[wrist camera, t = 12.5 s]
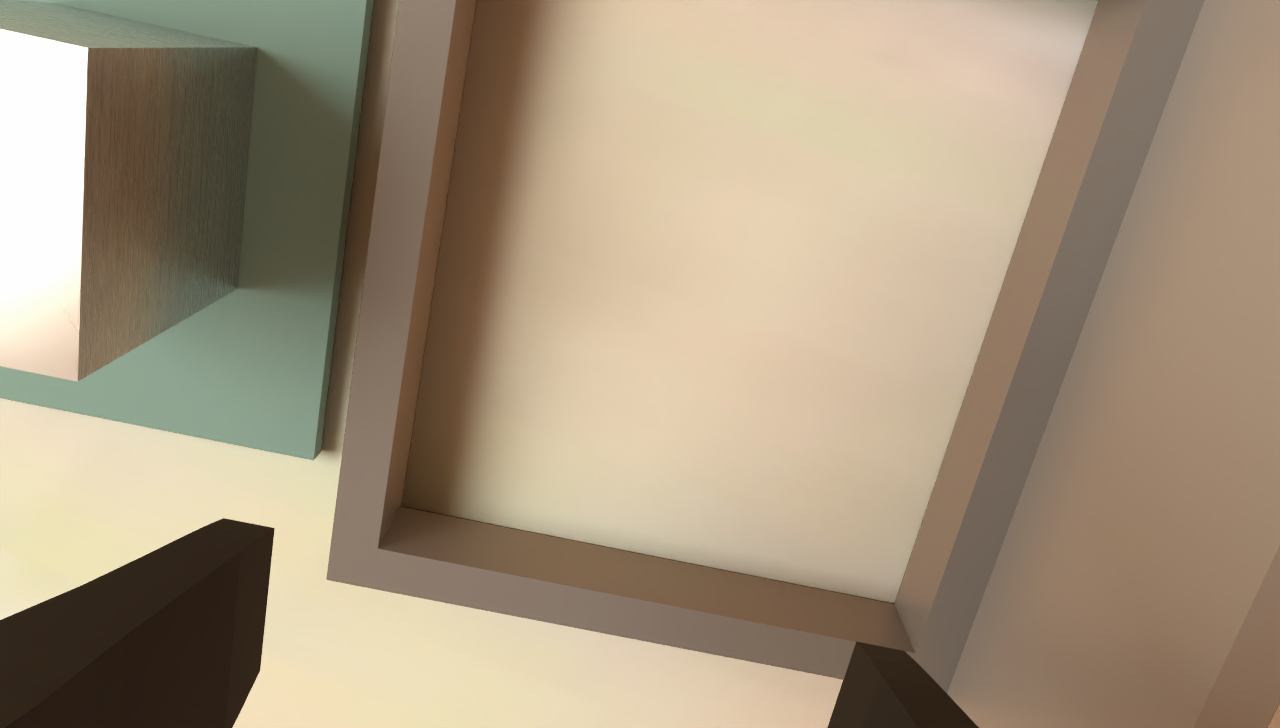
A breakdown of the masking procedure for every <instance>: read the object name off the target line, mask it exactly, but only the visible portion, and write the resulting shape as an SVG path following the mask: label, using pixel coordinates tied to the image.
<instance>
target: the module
mask: <svg viewBox="0 0 1280 728" xmlns="http://www.w3.org/2000/svg"><path fill="white" fill-rule="evenodd" d="M257 49H258V47H254V46H250V45H245V44H240V43H236V42H231V41H227V40H222V39H218V38H213V37H208V36H204V35H199V34H195V33H190V32H185V31H181V30H176V29H172V28H167V27H162V26H158V25H153V24H149V23H144V22H140V21H135V20H130V19H126V18H121V17H117V16H112V15H107V14H103V13H98V12H94V11H89V10H84V9H80V8H75V7H71V6H66V5H62V4H57V3H51V2H37V1H22V0H0V366H2V367H7V368H12V369H17V370H22V371H27V372H32V373H37V374H42V375H47V376H52V377H57V378H62V379H67V380H72V381H77V382H78V381H80V380H81V379H83V378H85V377H87V376H88V375H90V374H92V373H93V372H95V371H97V370H99V369H100V368H102V367H104V366H106V365H107V364H109V363H111V362H112V361H114V360H116V359H118V358H119V357H121V356H123V355H125V354H126V353H128V352H130V351H131V350H133V349H135V348H137V347H138V346H140V345H142V344H143V343H145V342H147V341H149V340H150V339H152V338H154V337H156V336H157V335H159V334H161V333H162V332H164V331H166V330H168V329H169V328H171V327H173V326H174V325H176V324H178V323H180V322H181V321H183V320H185V319H187V318H188V317H190V316H192V315H193V314H195V313H197V312H199V311H200V310H202V309H204V308H206V307H207V306H209V305H211V304H212V303H214V302H216V301H218V300H219V299H221V298H223V297H224V296H226V295H228V294H230V293H231V292H233V291H235V290H237V289H238V280H239V268H240V256H241V244H242V232H243V219H244V207H245V195H246V183H247V171H248V159H249V147H250V134H251V122H252V110H253V98H254V86H255V74H256V61H257Z"/></svg>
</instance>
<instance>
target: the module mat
mask: <svg viewBox="0 0 1280 728" xmlns="http://www.w3.org/2000/svg"><path fill="white" fill-rule="evenodd" d="M22 1H37V2H51V3H57V4H62V5H66V6H71V7H75V8H80V9H84V10H89V11H94V12H98V13H103V14H107V15H112V16H117V17H121V18H126V19H130V20H135V21H140V22H144V23H149V24H153V25H158V26H162V27H167V28H172V29H176V30H181V31H185V32H190V33H195V34H199V35H204V36H208V37H213V38H218V39H222V40H227V41H231V42H236V43H240V44H245V45H250V46H254V47H258V49H257V61H256V74H255V86H254V98H253V110H252V122H251V134H250V147H249V159H248V171H247V183H246V195H245V207H244V219H243V232H242V244H241V256H240V268H239V280H238V289H237V290H235V291H233V292H231V293H230V294H228V295H226V296H224V297H223V298H221V299H219V300H218V301H216V302H214V303H212V304H211V305H209V306H207V307H206V308H204V309H202V310H200V311H199V312H197V313H195V314H193V315H192V316H190V317H188V318H187V319H185V320H183V321H181V322H180V323H178V324H176V325H174V326H173V327H171V328H169V329H168V330H166V331H164V332H162V333H161V334H159V335H157V336H156V337H154V338H152V339H150V340H149V341H147V342H145V343H143V344H142V345H140V346H138V347H137V348H135V349H133V350H131V351H130V352H128V353H126V354H125V355H123V356H121V357H119V358H118V359H116V360H114V361H112V362H111V363H109V364H107V365H106V366H104V367H102V368H100V369H99V370H97V371H95V372H93V373H92V374H90V375H88V376H87V377H85V378H83V379H81V380H80V381H78V382H77V381H72V380H67V379H62V378H57V377H52V376H47V375H42V374H37V373H32V372H27V371H22V370H17V369H12V368H7V367H2V366H0V398H3V399H8V400H13V401H18V402H23V403H28V404H33V405H38V406H43V407H48V408H53V409H58V410H63V411H68V412H73V413H78V414H83V415H88V416H94V417H99V418H104V419H109V420H114V421H119V422H124V423H129V424H134V425H139V426H144V427H149V428H154V429H159V430H164V431H169V432H174V433H179V434H184V435H189V436H194V437H199V438H204V439H209V440H214V441H219V442H224V443H229V444H234V445H239V446H244V447H249V448H254V449H260V450H265V451H270V452H275V453H280V454H285V455H290V456H295V457H300V458H305V459H310V460H314V459H315V458H316V457H317V455H318V454H319V453H320V452H321V446H322V438H323V429H324V421H325V412H326V404H327V395H328V387H329V378H330V370H331V361H332V353H333V344H334V336H335V327H336V319H337V310H338V302H339V293H340V285H341V276H342V268H343V259H344V251H345V242H346V234H347V225H348V217H349V208H350V200H351V191H352V183H353V174H354V166H355V157H356V149H357V140H358V132H359V123H360V115H361V106H362V98H363V89H364V81H365V72H366V64H367V55H368V47H369V38H370V30H371V21H372V13H373V4H374V0H22Z"/></svg>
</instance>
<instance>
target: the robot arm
mask: <svg viewBox="0 0 1280 728" xmlns="http://www.w3.org/2000/svg"><path fill="white" fill-rule="evenodd" d="M273 537H274V528H270V527H265V526H260V525H255V524H250V523H245V522H239V521H234V520H229V519H221V520H219V521H216V522H214V523H211V524H209V525H207V526H205V527H203V528H200V529H198V530H196V531H194V532H192V533H190V534H188V535H186V536H184V537H182V538H180V539H178V540H175V541H173V542H171V543H169V544H167V545H165V546H163V547H161V548H159V549H157V550H155V551H153V552H151V553H149V554H147V555H145V556H143V557H141V558H139V559H137V560H134V561H132V562H130V563H128V564H126V565H124V566H122V567H120V568H118V569H116V570H113V571H111V572H109V573H107V574H105V575H103V576H101V577H99V578H97V579H95V580H92V581H90V582H88V583H86V584H84V585H82V586H80V587H77V588H75V589H73V590H70V591H68V592H66V593H63V594H61V595H59V596H56V597H54V598H51V599H49V600H47V601H44V602H42V603H40V604H37V605H35V606H33V607H30V608H28V609H26V610H23V611H21V612H19V613H16V614H14V615H12V616H9V617H7V618H4V619H2V620H0V728H232V727H233V725H234V723H235V721H236V719H237V717H238V715H239V713H240V711H241V709H242V707H243V705H244V703H245V701H246V699H247V696H248V694H249V692H250V690H251V688H252V686H253V684H254V682H255V680H256V678H257V675H258V673H259V671H260V665H261V655H262V645H263V635H264V625H265V616H266V606H267V596H268V586H269V576H270V566H271V556H272V546H273ZM828 728H979V727H978V726H977V725H976V724H975V723H974V722H973V721H972V720H971V719H970V718H969V717H968V716H967V714H966V713H965V712H964V711H963V710H962V709H961V708H960V707H959V706H958V705H957V704H956V703H955V702H954V701H953V699H952V698H951V697H950V696H949V695H948V694H947V693H946V692H945V691H944V690H943V689H942V688H941V687H940V686H939V685H938V684H937V683H936V681H935V680H934V679H933V678H932V677H931V676H930V675H929V674H928V673H927V672H926V671H925V670H924V669H923V668H922V667H921V666H920V665H919V664H918V663H917V662H916V661H915V660H914V659H913V658H912V657H911V656H909V655H908V654H907V653H906V652H905V651H903V650H898V649H893V648H888V647H882V646H877V645H872V644H867V643H862V642H857V641H856V644H855V647H854V650H853V653H852V656H851V659H850V662H849V665H848V668H847V671H846V674H845V677H844V680H843V683H842V686H841V689H840V692H839V695H838V698H837V701H836V704H835V707H834V710H833V713H832V716H831V719H830V722H829V725H828Z"/></svg>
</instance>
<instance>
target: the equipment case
mask: <svg viewBox="0 0 1280 728" xmlns="http://www.w3.org/2000/svg"><path fill="white" fill-rule="evenodd" d="M475 7H476V0H399V5H398V13H397V21H396V29H395V37H394V45H393V53H392V61H391V69H390V77H389V85H388V93H387V101H386V109H385V117H384V125H383V133H382V141H381V149H380V157H379V165H378V173H377V181H376V189H375V197H374V205H373V213H372V221H371V229H370V237H369V245H368V253H367V261H366V269H365V277H364V285H363V293H362V300H361V308H360V316H359V324H358V332H357V340H356V348H355V356H354V364H353V372H352V380H351V388H350V396H349V404H348V412H347V420H346V428H345V436H344V444H343V452H342V460H341V468H340V476H339V484H338V492H337V500H336V508H335V516H334V524H333V532H332V540H331V548H330V556H329V564H328V572H327V580H331V581H336V582H341V583H346V584H351V585H357V586H362V587H367V588H372V589H377V590H382V591H388V592H393V593H398V594H403V595H408V596H414V597H419V598H424V599H429V600H434V601H440V602H445V603H450V604H455V605H460V606H465V607H471V608H476V609H481V610H486V611H491V612H497V613H502V614H507V615H512V616H517V617H522V618H528V619H533V620H538V621H543V622H548V623H554V624H559V625H564V626H569V627H574V628H580V629H585V630H590V631H595V632H600V633H605V634H611V635H616V636H621V637H626V638H631V639H637V640H642V641H647V642H652V643H657V644H663V645H668V646H673V647H678V648H683V649H688V650H694V651H699V652H704V653H709V654H714V655H720V656H725V657H730V658H735V659H740V660H745V661H751V662H756V663H761V664H766V665H771V666H777V667H782V668H787V669H792V670H797V671H803V672H808V673H813V674H818V675H823V676H828V677H834V678H839V679H844V677H845V674H846V671H847V668H848V665H849V662H850V659H851V656H852V653H853V650H854V647H855V644H856V641H857V642H862V643H867V644H872V645H877V646H882V647H888V648H893V649H898V650H903V651H905V652H906V653H907V654H908V655H909V656H911V657H912V658H913V659H914V660H915V661H916V662H917V663H918V664H919V665H920V666H921V667H922V668H923V669H924V670H925V671H926V672H927V673H928V674H929V675H930V676H931V677H932V678H933V679H934V680H935V681H936V683H937V684H938V685H939V686H940V687H941V688H942V689H943V690H944V691H945V692H946V693H947V694H948V695H949V696H950V697H951V698H952V699H953V701H954V702H955V703H956V704H957V705H958V706H959V707H960V708H961V709H962V710H963V711H964V712H965V713H966V714H967V716H968V717H969V718H970V719H971V720H972V721H973V722H974V723H975V724H976V725H977V726H978V727H979V728H1268V726H1269V724H1270V722H1271V720H1272V718H1273V716H1274V714H1275V712H1276V710H1277V708H1278V706H1279V704H1280V0H1099V2H1098V5H1097V8H1096V11H1095V14H1094V17H1093V20H1092V23H1091V26H1090V29H1089V32H1088V34H1087V37H1086V40H1085V43H1084V46H1083V49H1082V52H1081V55H1080V58H1079V61H1078V64H1077V67H1076V70H1075V73H1074V76H1073V79H1072V82H1071V85H1070V88H1069V90H1068V93H1067V96H1066V99H1065V102H1064V105H1063V108H1062V111H1061V114H1060V117H1059V120H1058V123H1057V126H1056V129H1055V132H1054V135H1053V138H1052V141H1051V144H1050V146H1049V149H1048V152H1047V155H1046V158H1045V161H1044V164H1043V167H1042V170H1041V173H1040V176H1039V179H1038V182H1037V185H1036V188H1035V191H1034V194H1033V197H1032V200H1031V203H1030V205H1029V208H1028V211H1027V214H1026V217H1025V220H1024V223H1023V226H1022V229H1021V232H1020V235H1019V238H1018V241H1017V244H1016V247H1015V250H1014V253H1013V256H1012V259H1011V261H1010V264H1009V267H1008V270H1007V273H1006V276H1005V279H1004V282H1003V285H1002V288H1001V291H1000V294H999V297H998V300H997V303H996V306H995V309H994V312H993V315H992V317H991V320H990V323H989V326H988V329H987V332H986V335H985V338H984V341H983V344H982V347H981V350H980V353H979V356H978V359H977V362H976V365H975V368H974V371H973V373H972V376H971V379H970V382H969V385H968V388H967V391H966V394H965V397H964V400H963V403H962V406H961V409H960V412H959V415H958V418H957V421H956V424H955V427H954V430H953V432H952V435H951V438H950V441H949V444H948V447H947V450H946V453H945V456H944V459H943V462H942V465H941V468H940V471H939V474H938V477H937V480H936V483H935V486H934V488H933V491H932V494H931V497H930V500H929V503H928V506H927V509H926V512H925V515H924V518H923V521H922V524H921V527H920V530H919V533H918V536H917V539H916V542H915V544H914V547H913V550H912V553H911V556H910V559H909V562H908V565H907V568H906V571H905V574H904V577H903V580H902V583H901V586H900V589H899V592H898V595H897V598H896V601H895V603H894V604H892V603H887V602H882V601H877V600H872V599H867V598H862V597H856V596H851V595H846V594H841V593H836V592H831V591H826V590H821V589H816V588H811V587H806V586H801V585H796V584H791V583H786V582H780V581H775V580H770V579H765V578H760V577H755V576H750V575H745V574H740V573H735V572H730V571H725V570H720V569H715V568H709V567H704V566H699V565H694V564H689V563H684V562H679V561H674V560H669V559H664V558H659V557H654V556H649V555H644V554H639V553H633V552H628V551H623V550H618V549H613V548H608V547H603V546H598V545H593V544H588V543H583V542H578V541H573V540H568V539H562V538H557V537H552V536H547V535H542V534H537V533H532V532H527V531H522V530H517V529H512V528H507V527H502V526H497V525H492V524H486V523H481V522H476V521H471V520H466V519H461V518H456V517H451V516H446V515H441V514H436V513H431V512H426V511H421V510H416V509H410V508H405V507H401V504H402V497H403V490H404V483H405V477H406V470H407V463H408V457H409V450H410V443H411V436H412V430H413V423H414V416H415V410H416V403H417V396H418V390H419V383H420V376H421V369H422V363H423V356H424V349H425V343H426V336H427V329H428V322H429V316H430V309H431V302H432V296H433V289H434V282H435V275H436V269H437V262H438V255H439V249H440V242H441V235H442V228H443V222H444V215H445V208H446V202H447V195H448V188H449V181H450V175H451V168H452V161H453V155H454V148H455V141H456V135H457V128H458V121H459V114H460V108H461V101H462V94H463V88H464V81H465V74H466V67H467V61H468V54H469V47H470V41H471V34H472V27H473V20H474V14H475Z"/></svg>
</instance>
